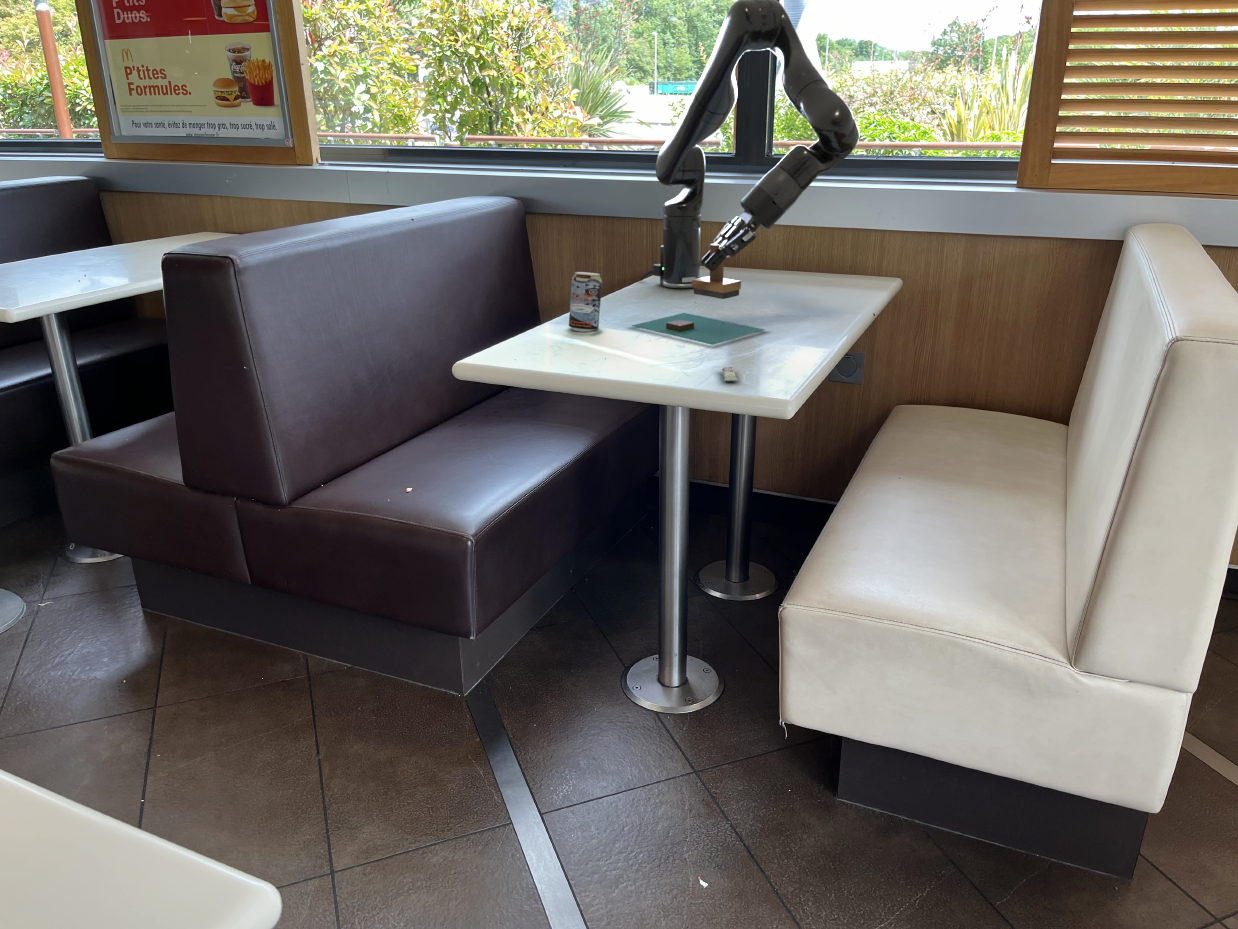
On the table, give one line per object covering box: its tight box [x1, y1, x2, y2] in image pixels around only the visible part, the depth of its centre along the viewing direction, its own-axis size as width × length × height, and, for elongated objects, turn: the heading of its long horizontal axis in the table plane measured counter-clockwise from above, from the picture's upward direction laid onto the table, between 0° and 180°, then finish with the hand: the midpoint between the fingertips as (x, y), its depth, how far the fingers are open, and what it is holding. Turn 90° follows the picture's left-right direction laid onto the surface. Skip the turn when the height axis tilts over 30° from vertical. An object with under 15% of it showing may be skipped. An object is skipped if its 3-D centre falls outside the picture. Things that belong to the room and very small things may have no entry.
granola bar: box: [720, 366, 739, 382], centre depth 150 cm, size 7×2×1 cm, turn 179°
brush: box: [692, 242, 742, 300], centre depth 169 cm, size 8×5×10 cm, turn 44°
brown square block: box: [666, 320, 694, 332], centre depth 180 cm, size 4×4×1 cm
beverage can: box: [568, 271, 603, 333], centre depth 179 cm, size 6×7×12 cm
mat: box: [631, 312, 766, 345], centre depth 181 cm, size 22×16×1 cm
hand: (706, 266), depth 169 cm, fingers closed on brush, 2 cm apart
